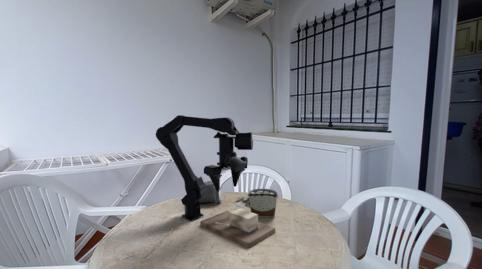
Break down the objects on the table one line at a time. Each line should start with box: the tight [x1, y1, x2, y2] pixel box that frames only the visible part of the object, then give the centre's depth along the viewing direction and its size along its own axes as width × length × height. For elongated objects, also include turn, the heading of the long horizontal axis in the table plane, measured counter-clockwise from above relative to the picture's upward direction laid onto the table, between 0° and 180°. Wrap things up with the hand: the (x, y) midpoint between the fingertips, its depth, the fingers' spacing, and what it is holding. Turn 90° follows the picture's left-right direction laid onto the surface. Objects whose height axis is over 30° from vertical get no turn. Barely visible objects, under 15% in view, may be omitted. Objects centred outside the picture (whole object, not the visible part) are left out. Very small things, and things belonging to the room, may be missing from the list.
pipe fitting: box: [199, 180, 222, 204], centre depth 114 cm, size 12×8×10 cm, turn 88°
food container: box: [247, 188, 279, 218], centre depth 99 cm, size 12×6×10 cm, turn 84°
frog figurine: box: [234, 197, 250, 208], centre depth 113 cm, size 12×12×4 cm
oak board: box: [199, 210, 276, 249], centre depth 87 cm, size 24×14×2 cm, turn 48°
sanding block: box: [230, 207, 259, 234], centre depth 84 cm, size 9×5×5 cm, turn 47°
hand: (226, 188), depth 95 cm, fingers open, 9 cm apart
